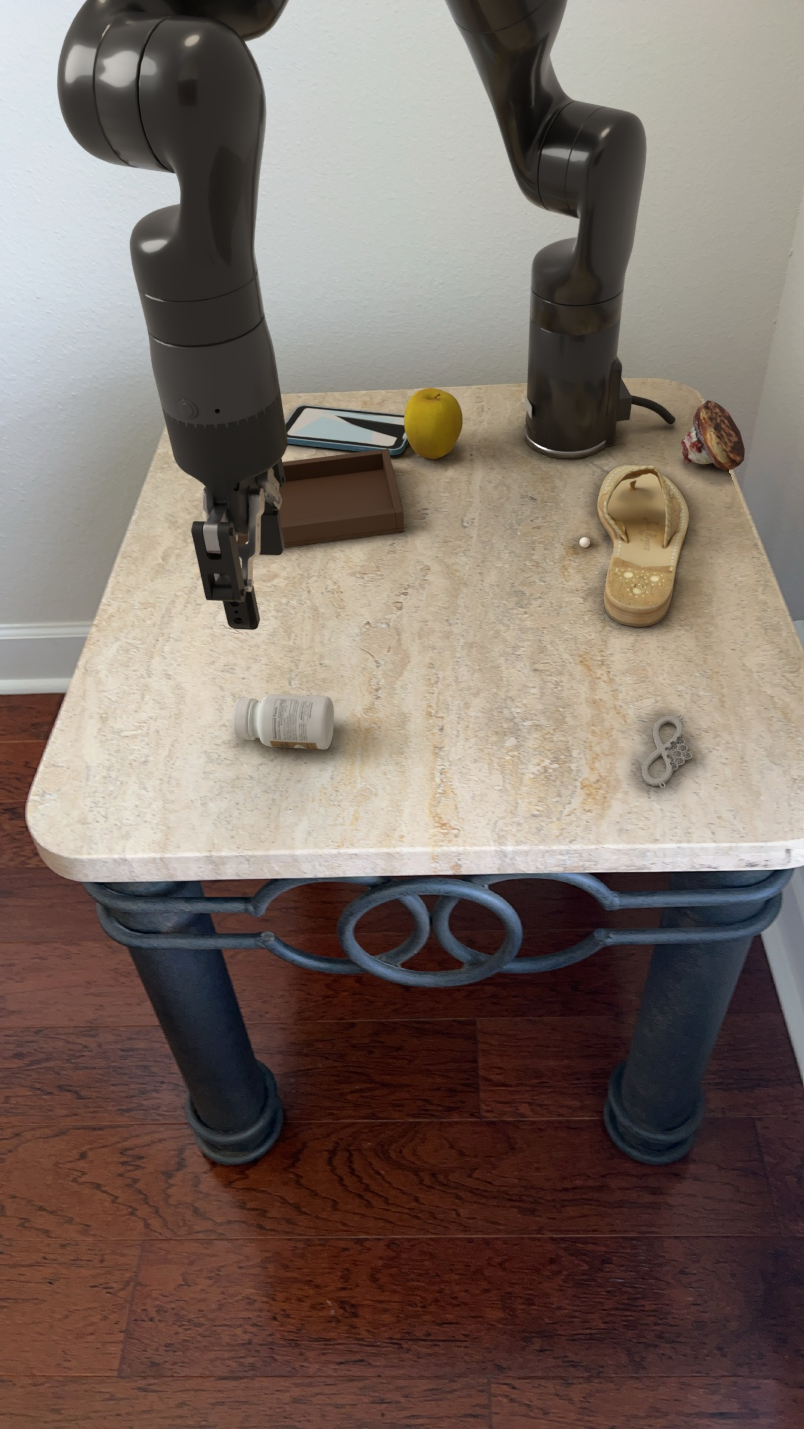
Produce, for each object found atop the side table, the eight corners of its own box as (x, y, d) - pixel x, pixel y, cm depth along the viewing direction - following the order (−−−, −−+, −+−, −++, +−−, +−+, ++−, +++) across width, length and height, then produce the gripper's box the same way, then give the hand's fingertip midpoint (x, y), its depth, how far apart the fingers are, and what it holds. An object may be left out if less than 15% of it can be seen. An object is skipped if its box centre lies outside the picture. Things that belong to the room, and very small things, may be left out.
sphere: (602, 595, 98) (599, 603, 99) (590, 533, 102) (587, 542, 103) (592, 594, 98) (589, 603, 99) (580, 533, 102) (577, 541, 103)
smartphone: (298, 403, 123) (419, 415, 119) (299, 410, 123) (420, 423, 119) (274, 437, 118) (400, 451, 114) (276, 444, 119) (400, 458, 115)
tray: (389, 467, 114) (388, 448, 112) (404, 531, 106) (403, 511, 104) (229, 488, 113) (225, 468, 111) (232, 554, 105) (228, 534, 103)
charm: (637, 787, 82) (682, 795, 81) (637, 783, 82) (683, 790, 81) (657, 715, 87) (700, 721, 86) (657, 710, 87) (701, 717, 86)
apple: (453, 473, 113) (452, 407, 107) (397, 465, 114) (393, 400, 108) (470, 441, 117) (469, 375, 111) (415, 434, 118) (412, 369, 112)
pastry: (707, 432, 104) (666, 460, 107) (752, 476, 107) (711, 501, 111) (704, 384, 109) (665, 412, 112) (747, 428, 112) (708, 454, 115)
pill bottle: (335, 741, 88) (246, 736, 89) (335, 691, 87) (245, 686, 88) (324, 756, 84) (231, 751, 85) (324, 704, 83) (230, 699, 84)
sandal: (524, 594, 98) (527, 524, 92) (617, 465, 112) (625, 397, 106) (653, 635, 94) (665, 565, 88) (735, 496, 107) (750, 426, 101)
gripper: (251, 452, 60) (288, 656, 72) (299, 334, 70) (325, 531, 81) (127, 449, 61) (183, 651, 73) (191, 332, 70) (232, 527, 82)
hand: (258, 587), depth 77 cm, fingers open, 8 cm apart
